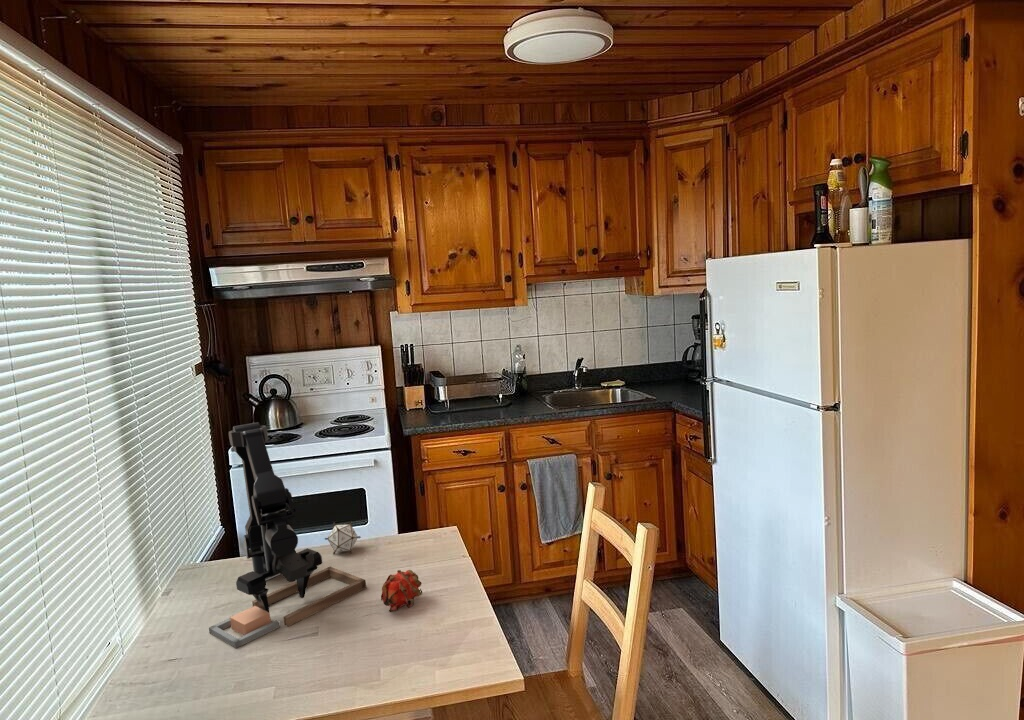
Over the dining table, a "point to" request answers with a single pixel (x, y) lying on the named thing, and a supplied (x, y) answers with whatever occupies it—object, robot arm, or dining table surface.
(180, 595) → the dining table surface
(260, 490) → the robot arm
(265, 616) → the terracotta block
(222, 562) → the dining table surface
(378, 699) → the dining table surface
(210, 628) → the grey bay
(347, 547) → the game die
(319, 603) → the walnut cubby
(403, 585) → the dragon fruit
